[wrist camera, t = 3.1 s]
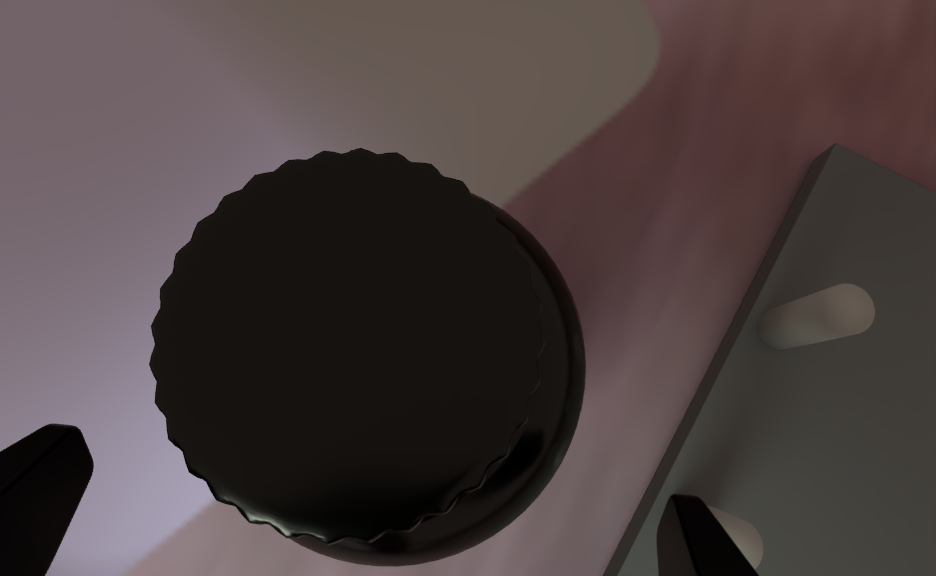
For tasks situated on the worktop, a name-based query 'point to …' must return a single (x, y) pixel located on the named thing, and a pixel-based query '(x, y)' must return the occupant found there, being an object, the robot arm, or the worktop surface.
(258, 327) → the supplement bottle
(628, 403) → the worktop surface
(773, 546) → the pin tray
